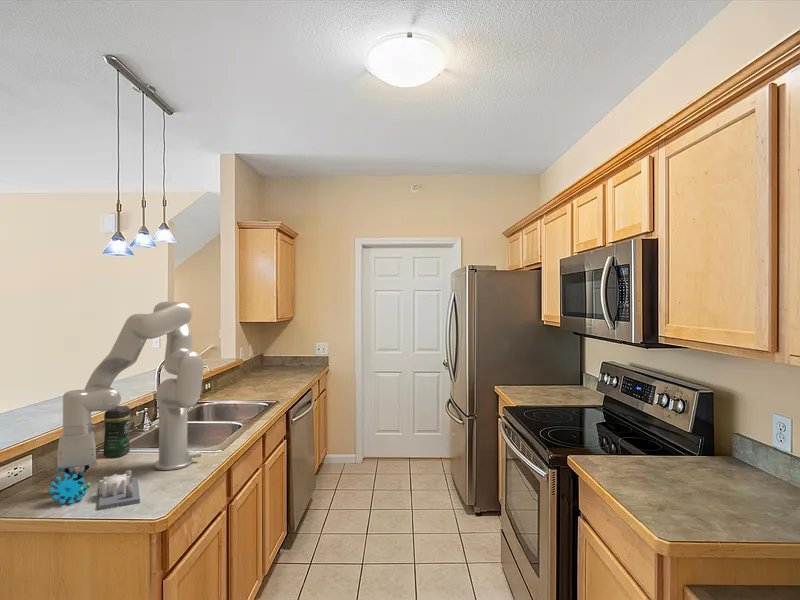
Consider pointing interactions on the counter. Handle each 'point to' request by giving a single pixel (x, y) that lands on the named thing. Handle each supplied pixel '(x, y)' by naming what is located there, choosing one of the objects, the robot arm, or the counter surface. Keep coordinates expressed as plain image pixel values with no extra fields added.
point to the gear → (69, 489)
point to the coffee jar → (117, 432)
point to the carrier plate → (122, 497)
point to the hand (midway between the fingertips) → (76, 487)
